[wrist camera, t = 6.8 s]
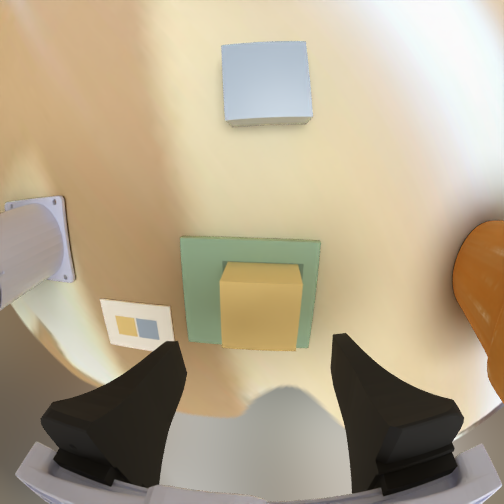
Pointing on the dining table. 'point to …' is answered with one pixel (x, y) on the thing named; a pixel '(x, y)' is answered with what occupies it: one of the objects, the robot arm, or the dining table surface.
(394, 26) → the dining table surface
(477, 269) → the flower pot
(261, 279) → the brick
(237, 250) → the plate
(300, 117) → the brick
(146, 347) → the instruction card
